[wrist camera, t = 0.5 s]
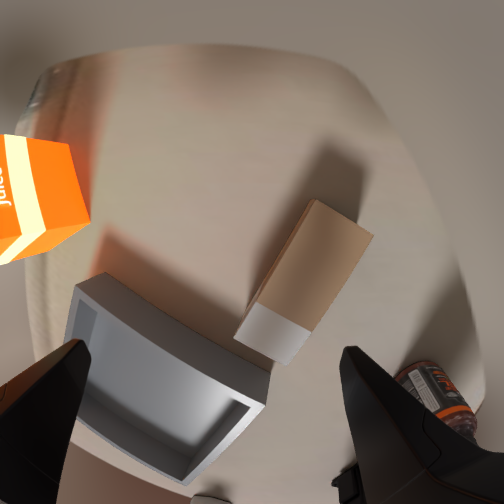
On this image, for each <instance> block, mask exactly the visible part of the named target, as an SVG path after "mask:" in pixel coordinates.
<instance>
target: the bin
mask: <svg viewBox="0 0 504 504" xmlns="http://www.w3.org/2000/svg"><path fill="white" fill-rule="evenodd" d="M73 338H77V339H82V340H84V341H85V343H86V345H87V348H88V350H89V352H90V354H91V357H92V361H91V365H90V369H89V373H88V378H87V382H86V386H85V391H84V395H83V398H82V401H81V404H80V408H79V411H78V414H77V417H76V419H77V420H78V421H80V422H81V423H82V424H83V425H85V426H86V427H87V428H89V429H90V430H91V431H93V432H94V433H95V434H97V435H98V436H100V437H101V438H102V439H104V440H105V441H107V442H108V443H110V444H111V445H113V446H114V447H116V448H117V449H119V450H120V451H122V452H123V453H125V454H127V455H128V456H130V457H131V458H133V459H135V460H136V461H138V462H140V463H142V464H143V465H145V466H147V467H149V468H150V469H152V470H154V471H156V472H158V473H160V474H162V475H163V476H165V477H167V478H169V479H171V480H173V481H175V482H178V483H180V484H182V485H184V486H187V485H188V484H189V483H191V482H192V481H193V480H194V479H195V478H196V477H197V476H198V475H199V474H200V473H201V472H202V471H204V470H205V469H206V468H207V467H208V466H209V465H210V464H211V463H212V462H213V461H214V460H215V459H216V458H217V457H218V456H219V455H220V454H221V453H222V452H223V451H224V450H225V449H226V448H227V447H228V446H229V445H230V444H231V443H232V442H233V441H234V440H235V439H236V438H237V436H238V435H239V434H240V433H241V432H242V431H243V430H244V429H245V428H246V427H247V426H248V425H249V424H250V422H251V421H252V420H253V419H254V418H255V417H256V416H257V415H258V414H259V412H260V411H261V410H262V409H263V408H264V407H265V406H266V400H267V394H268V388H269V381H270V375H271V373H269V372H267V371H265V370H263V369H261V368H259V367H257V366H255V365H253V364H251V363H250V362H248V361H246V360H244V359H242V358H240V357H238V356H237V355H235V354H233V353H231V352H229V351H227V350H226V349H224V348H222V347H220V346H219V345H217V344H215V343H213V342H212V341H210V340H208V339H206V338H205V337H203V336H201V335H200V334H198V333H196V332H195V331H193V330H191V329H190V328H188V327H186V326H185V325H183V324H181V323H180V322H178V321H177V320H175V319H173V318H172V317H170V316H169V315H167V314H166V313H164V312H162V311H161V310H159V309H158V308H156V307H155V306H153V305H152V304H150V303H149V302H147V301H146V300H144V299H143V298H141V297H140V296H138V295H137V294H135V293H134V292H133V291H131V290H130V289H128V288H127V287H125V286H124V285H123V284H121V283H120V282H118V281H117V280H116V279H114V278H113V277H111V276H110V275H109V274H107V273H106V272H104V273H102V274H100V275H97V276H95V277H92V278H90V279H88V280H86V281H83V282H81V283H79V284H76V285H75V287H74V291H73V296H72V300H71V305H70V310H69V315H68V320H67V325H66V331H65V337H64V344H65V343H67V342H68V341H70V340H71V339H73ZM64 344H63V345H64Z"/></svg>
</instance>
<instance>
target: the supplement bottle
mask: <svg viewBox="0 0 504 504" xmlns="http://www.w3.org/2000/svg"><path fill="white" fill-rule="evenodd" d="M395 380H396V381H397V382H398V383H400V384H401V385H402V386H403V387H404V388H405V389H406V390H408V391H409V392H410V393H411V394H412V395H413V396H414V397H415V398H417V399H418V400H419V401H420V402H421V403H422V404H423V405H424V406H425V408H426V407H427V408H428V409H429V410H430V411H431V412H433V413H434V414H435V415H436V416H437V417H438V418H440V419H441V420H442V421H443V422H445V423H446V424H447V425H449V426H450V427H451V428H453V429H454V430H455V431H457V432H458V433H460V434H461V435H463V436H464V437H466V438H467V439H469V440H470V441H471V442H473V443H474V444H476V445H477V446H478V444H477V442H476V439H475V438H474V435H475V433H476V429H477V419H476V417H475V415H474V413H473V412H472V410H471V408H470V407H469V406H468V404H467V403H466V401H465V400H464V398H463V397H462V396H461V394H460V393H459V391H458V390H457V389H456V387H455V386H454V384H453V383H452V382H451V380H450V379H449V378H448V376H447V375H446V374H445V372H444V371H443V370H442V368H440V367H439V366H438V365H437V364H436V363H434V362H429V361H423V362H418V363H415V364H413V365H411V366H409V367H407V368H406V369H405V370H403V371H402V372H401V373H400V374H399V375H398V376H397V377H396V378H395Z"/></svg>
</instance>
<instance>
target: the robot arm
mask: <svg viewBox="0 0 504 504" xmlns="http://www.w3.org/2000/svg"><path fill="white" fill-rule="evenodd" d="M91 361H92V357H91V354H90V352H89V350H88V348H87V345H86V343H85V341H84V340H82V339H77V338H73V339H71V340H70V341H68V342H67V343H65V344H64V345H62V346H61V347H59V348H58V349H56V350H55V351H53V352H52V353H50V354H48V355H47V356H45V357H44V358H42V359H41V360H39V361H38V362H36V363H35V364H33V365H32V366H30V367H29V368H28V369H26V370H25V371H23V372H22V373H20V374H19V375H17V376H16V377H14V378H13V379H11V380H10V381H8V383H5V384H4V385H2V386H1V387H0V504H56V500H57V495H58V489H59V483H60V479H61V474H62V470H63V465H64V461H65V457H66V453H67V449H68V445H69V442H70V438H71V434H72V431H73V427H74V424H75V421H76V417H77V414H78V411H79V408H80V404H81V401H82V398H83V395H84V391H85V386H86V382H87V378H88V373H89V369H90V365H91ZM339 370H340V377H341V384H342V391H343V398H344V405H345V411H346V415H347V419H348V423H349V427H350V431H351V435H352V439H353V443H354V447H355V451H356V456H357V460H358V463H357V464H356V465H355V466H353V467H352V468H351V469H349V470H348V471H347V472H345V473H344V474H343V475H341V476H340V477H338V478H337V479H336V480H334V481H333V482H332V483H331V486H333V487H337V488H338V491H339V503H340V504H504V453H499V452H491V451H487V450H485V449H482V448H481V447H479V446H477V445H476V444H474V443H473V442H471V441H470V440H469V439H467V438H466V437H464V436H463V435H461V434H460V433H458V432H457V431H455V430H454V429H453V428H451V427H450V426H449V425H447V424H446V423H445V422H443V421H442V420H441V419H440V418H438V417H437V416H436V415H435V414H434V413H433V412H431V411H430V410H429V409H428V408H427V407H426V408H425V406H424V405H423V404H422V403H421V402H420V401H419V400H418V399H417V398H415V397H414V396H413V395H412V394H411V393H410V392H409V391H408V390H406V389H405V388H404V387H403V386H402V385H401V384H400V383H398V382H397V381H396V380H395V379H394V378H393V377H392V376H391V375H389V374H388V373H387V372H386V371H385V370H384V369H383V368H382V367H380V366H379V365H378V364H377V363H376V362H375V361H374V360H373V359H371V358H370V357H369V356H368V355H367V354H366V353H365V352H363V351H362V350H361V349H360V348H359V347H358V346H347V347H345V348H344V350H343V353H342V357H341V361H340V365H339Z"/></svg>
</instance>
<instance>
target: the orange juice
mask: <svg viewBox="0 0 504 504" xmlns="http://www.w3.org/2000/svg"><path fill="white" fill-rule="evenodd" d="M89 223H90V220H89V217H88V214H87V211H86V208H85V204H84V201H83V198H82V195H81V191H80V188H79V184H78V181H77V177H76V174H75V170H74V166H73V162H72V158H71V154H70V150H69V145H68V144H63V143H57V142H51V141H44V140H38V139H31V138H26V137H21V136H13V135H0V265H2V264H5V263H9V262H10V261H14V260H17V259H21V258H24V257H28V256H31V255H35V254H39V253H42V252H46V251H49V250H50V249H52V248H53V247H55V246H56V245H58V244H59V243H60V242H62V241H63V240H65V239H66V238H68V237H69V236H71V235H72V234H74V233H75V232H77V231H78V230H80V229H81V228H83V227H84V226H86V225H87V224H89Z"/></svg>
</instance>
